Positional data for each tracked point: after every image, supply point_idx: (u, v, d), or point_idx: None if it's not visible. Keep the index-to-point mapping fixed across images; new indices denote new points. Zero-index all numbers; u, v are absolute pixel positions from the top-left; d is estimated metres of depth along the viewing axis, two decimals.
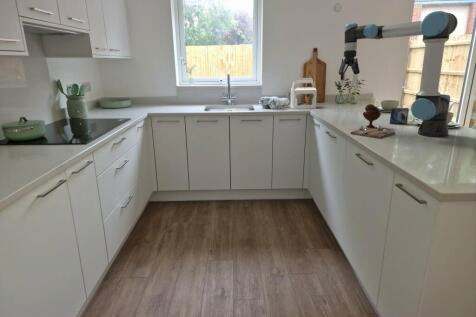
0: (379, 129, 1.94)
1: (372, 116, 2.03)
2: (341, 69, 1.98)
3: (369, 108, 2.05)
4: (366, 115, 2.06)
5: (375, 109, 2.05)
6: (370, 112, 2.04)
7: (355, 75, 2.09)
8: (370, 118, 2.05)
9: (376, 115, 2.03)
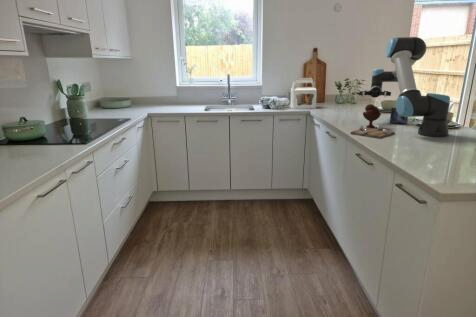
0: (379, 129, 1.94)
1: (372, 116, 2.03)
2: None
3: (369, 108, 2.05)
4: (366, 115, 2.06)
5: (375, 109, 2.05)
6: (370, 112, 2.04)
7: (384, 93, 2.15)
8: (370, 118, 2.05)
9: (376, 115, 2.03)
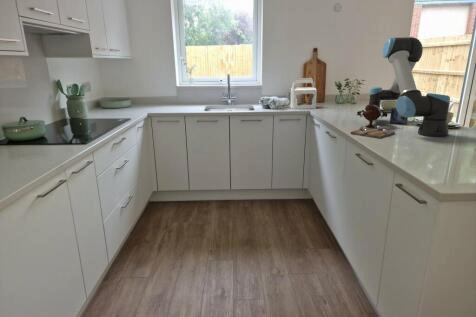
0: (379, 129, 1.94)
1: (372, 116, 2.03)
2: None
3: (369, 108, 2.05)
4: (366, 115, 2.06)
5: (375, 109, 2.05)
6: (370, 112, 2.04)
7: (381, 114, 2.07)
8: (370, 118, 2.05)
9: (376, 115, 2.03)
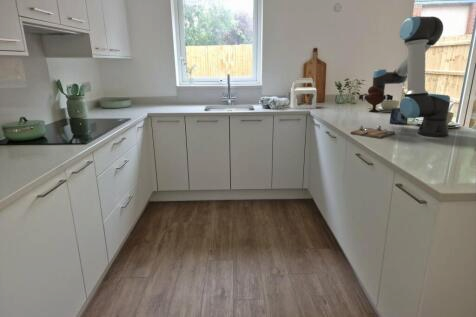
0: (379, 129, 1.94)
1: (376, 99, 1.82)
2: None
3: (372, 90, 1.83)
4: (369, 98, 1.84)
5: (379, 91, 1.83)
6: (373, 94, 1.82)
7: None
8: (373, 101, 1.83)
9: (380, 98, 1.81)
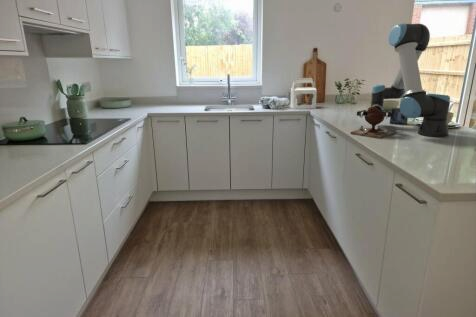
0: (379, 129, 1.94)
1: (375, 120, 1.84)
2: None
3: (371, 111, 1.85)
4: (368, 119, 1.86)
5: (378, 112, 1.85)
6: (373, 115, 1.84)
7: (386, 114, 1.87)
8: (373, 122, 1.85)
9: (379, 119, 1.84)
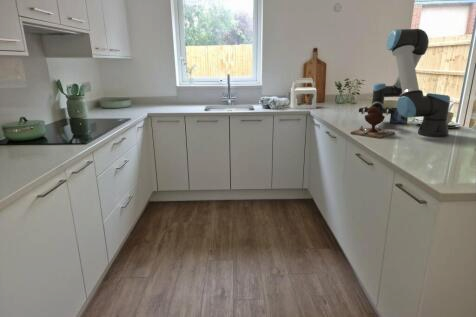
0: (379, 129, 1.94)
1: (375, 120, 1.84)
2: None
3: (372, 111, 1.85)
4: (368, 119, 1.86)
5: (378, 112, 1.85)
6: (373, 115, 1.84)
7: (386, 110, 1.99)
8: (373, 122, 1.86)
9: (379, 119, 1.84)
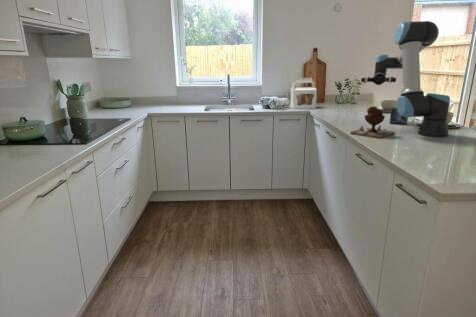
0: (379, 129, 1.94)
1: (375, 120, 1.84)
2: None
3: (372, 111, 1.85)
4: (368, 119, 1.86)
5: (378, 112, 1.85)
6: (373, 115, 1.84)
7: None
8: (373, 122, 1.86)
9: (379, 119, 1.84)
